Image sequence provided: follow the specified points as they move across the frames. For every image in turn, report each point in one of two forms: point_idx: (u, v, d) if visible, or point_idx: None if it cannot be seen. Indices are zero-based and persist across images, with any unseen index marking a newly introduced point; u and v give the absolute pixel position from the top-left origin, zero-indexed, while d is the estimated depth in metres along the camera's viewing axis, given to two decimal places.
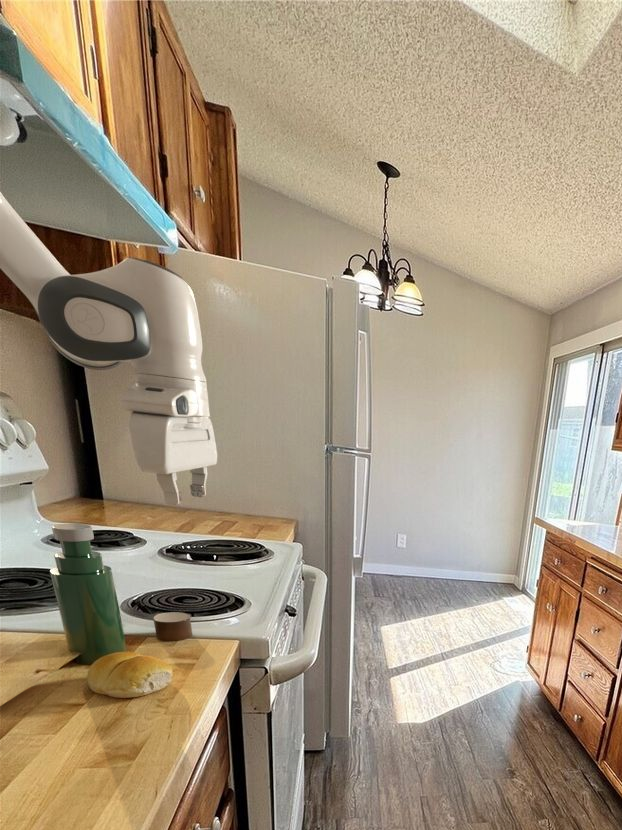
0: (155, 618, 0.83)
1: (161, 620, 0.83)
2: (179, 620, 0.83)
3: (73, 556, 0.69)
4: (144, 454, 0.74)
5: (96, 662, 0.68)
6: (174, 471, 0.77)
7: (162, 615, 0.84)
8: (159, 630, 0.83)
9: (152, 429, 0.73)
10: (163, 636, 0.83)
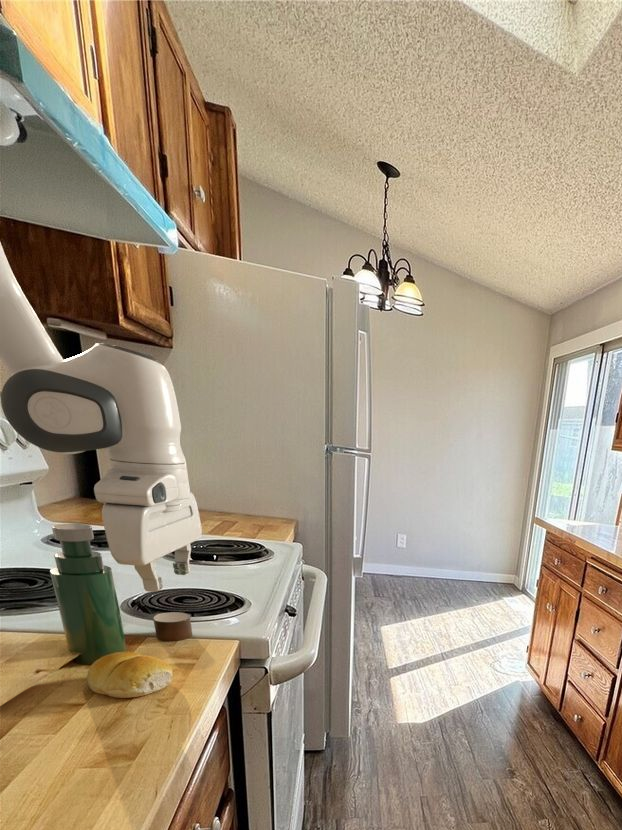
0: (155, 618, 0.83)
1: (161, 620, 0.83)
2: (179, 620, 0.83)
3: (73, 556, 0.69)
4: (119, 547, 0.70)
5: (96, 662, 0.68)
6: (152, 560, 0.74)
7: (162, 615, 0.84)
8: (159, 630, 0.83)
9: (126, 522, 0.69)
10: (163, 636, 0.83)
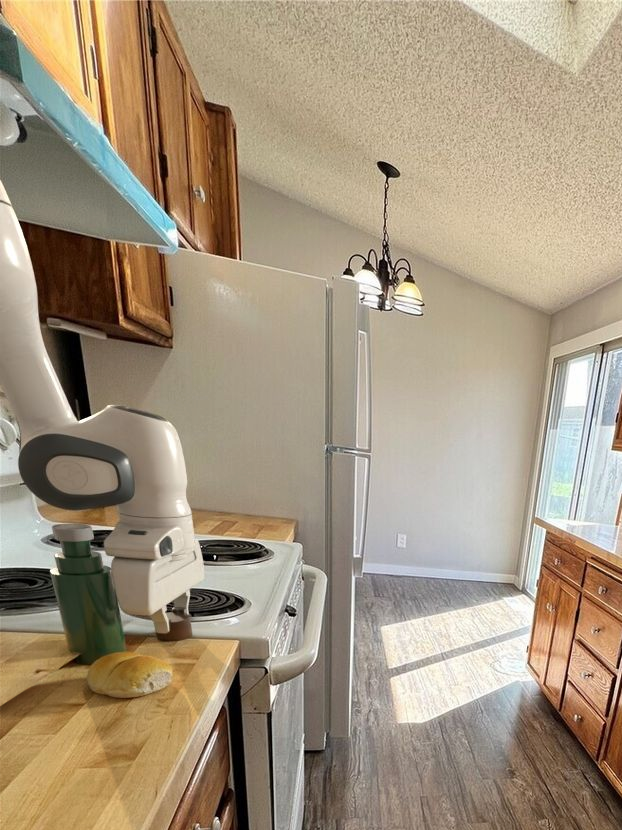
0: None
1: None
2: (179, 620, 0.83)
3: (73, 556, 0.69)
4: (127, 599, 0.73)
5: (96, 662, 0.68)
6: (158, 609, 0.76)
7: None
8: None
9: (135, 575, 0.72)
10: (163, 636, 0.83)
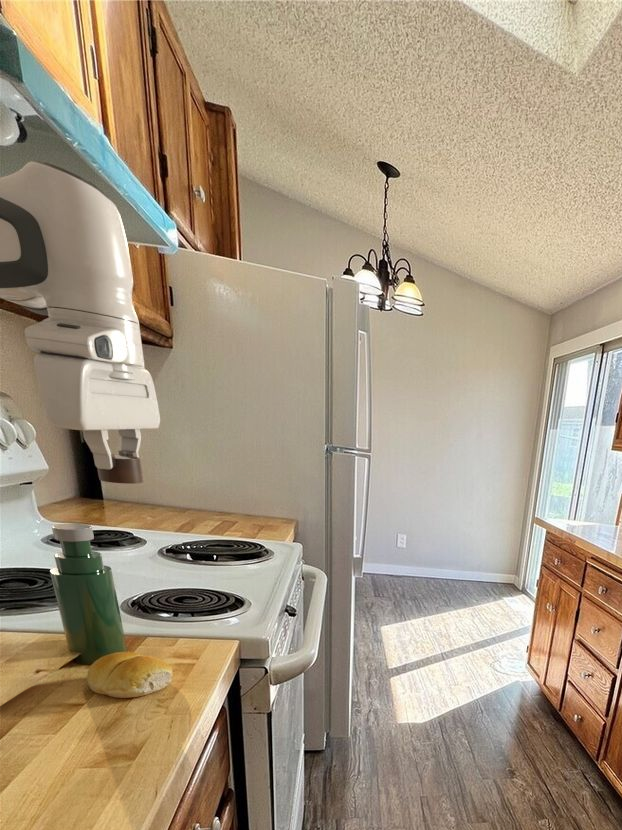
0: None
1: None
2: (126, 458, 0.71)
3: (73, 556, 0.69)
4: (54, 405, 0.60)
5: (96, 662, 0.68)
6: (95, 428, 0.64)
7: None
8: None
9: (63, 373, 0.60)
10: (106, 476, 0.71)
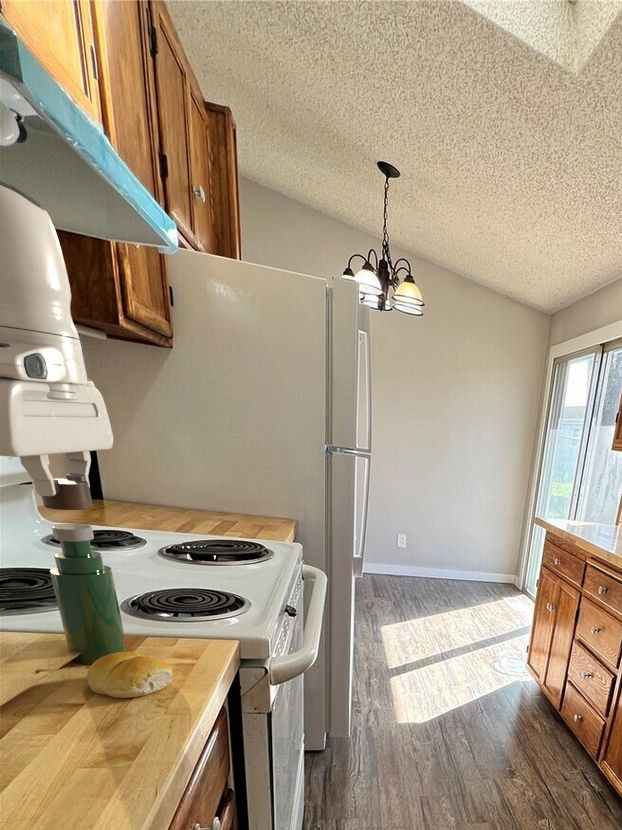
0: None
1: None
2: (71, 483, 0.66)
3: (73, 556, 0.69)
4: None
5: (96, 662, 0.68)
6: (31, 453, 0.59)
7: None
8: None
9: None
10: (51, 503, 0.66)
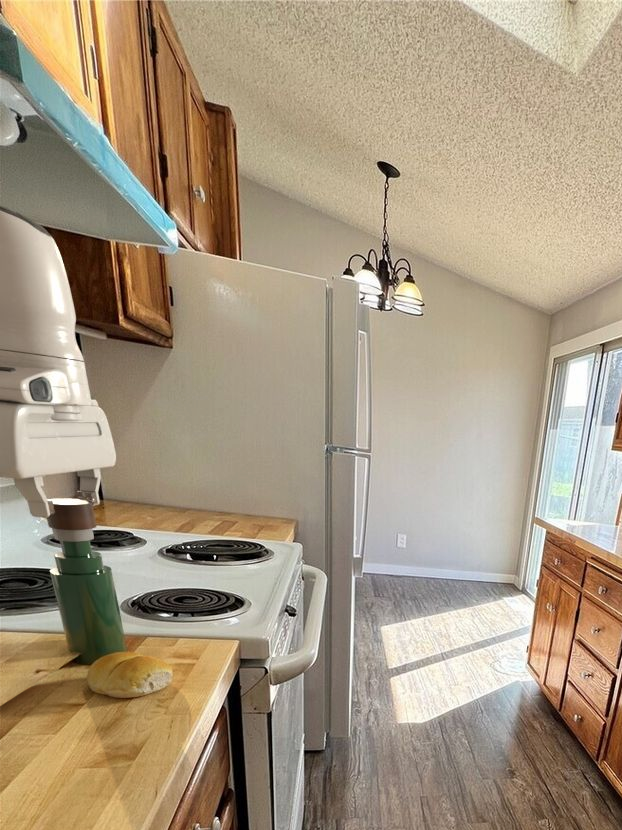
0: None
1: None
2: (76, 504, 0.67)
3: (73, 556, 0.69)
4: None
5: (96, 662, 0.68)
6: (35, 475, 0.60)
7: (56, 499, 0.68)
8: None
9: None
10: (55, 523, 0.67)
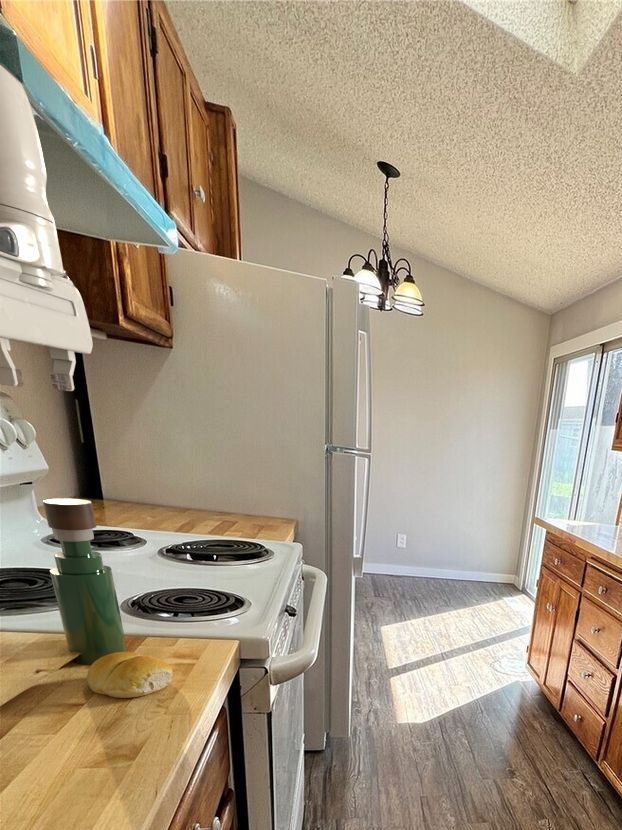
0: (45, 501, 0.67)
1: (52, 502, 0.66)
2: (76, 504, 0.67)
3: (73, 556, 0.69)
4: None
5: (96, 662, 0.68)
6: (0, 334, 0.58)
7: (56, 499, 0.68)
8: (50, 514, 0.67)
9: None
10: (55, 523, 0.67)
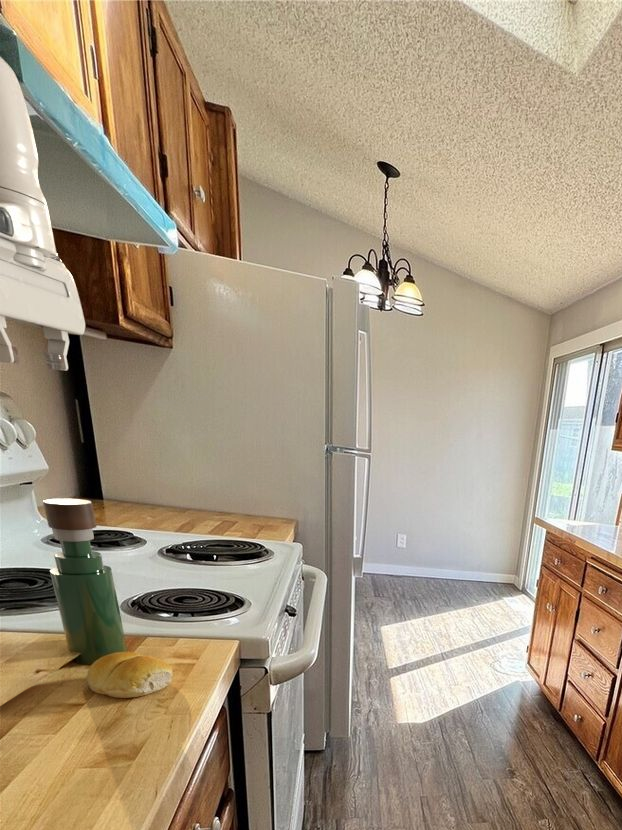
0: (45, 501, 0.67)
1: (52, 502, 0.66)
2: (76, 504, 0.67)
3: (73, 556, 0.69)
4: None
5: (96, 662, 0.68)
6: None
7: (56, 499, 0.68)
8: (50, 514, 0.67)
9: None
10: (55, 523, 0.67)
